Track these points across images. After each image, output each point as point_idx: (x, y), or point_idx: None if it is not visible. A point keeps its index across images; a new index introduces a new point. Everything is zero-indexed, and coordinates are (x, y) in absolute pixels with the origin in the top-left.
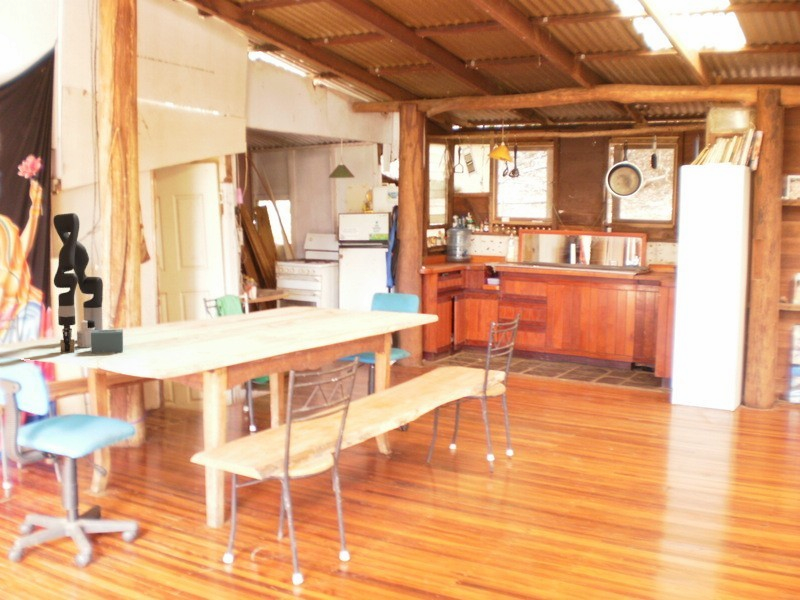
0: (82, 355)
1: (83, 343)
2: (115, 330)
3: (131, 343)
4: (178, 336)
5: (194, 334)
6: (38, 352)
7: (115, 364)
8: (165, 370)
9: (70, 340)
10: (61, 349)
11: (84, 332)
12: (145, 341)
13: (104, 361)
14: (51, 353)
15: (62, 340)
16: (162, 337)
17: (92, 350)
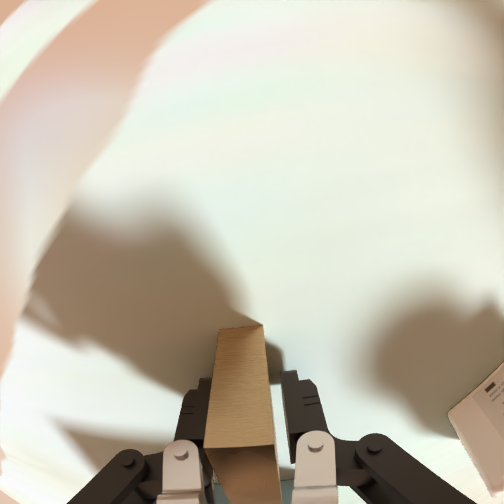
0: (101, 451)
1: (474, 416)
2: None
3: (454, 485)
4: None
5: None
6: (255, 62)
7: (2, 469)
8: (8, 495)
9: (231, 500)
10: (217, 358)
11: (497, 483)
12: (467, 488)
13: (19, 467)
14: (159, 244)
15: (212, 459)
16: None
17: None
